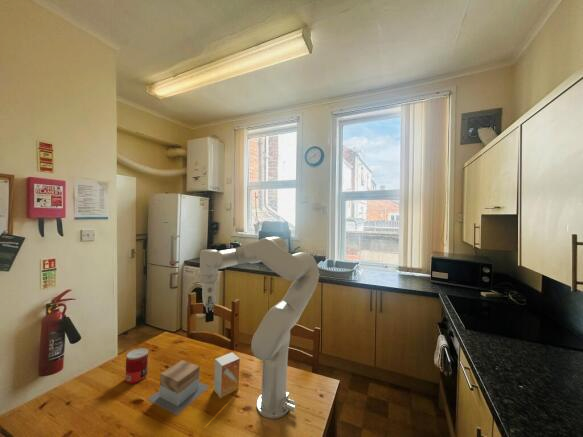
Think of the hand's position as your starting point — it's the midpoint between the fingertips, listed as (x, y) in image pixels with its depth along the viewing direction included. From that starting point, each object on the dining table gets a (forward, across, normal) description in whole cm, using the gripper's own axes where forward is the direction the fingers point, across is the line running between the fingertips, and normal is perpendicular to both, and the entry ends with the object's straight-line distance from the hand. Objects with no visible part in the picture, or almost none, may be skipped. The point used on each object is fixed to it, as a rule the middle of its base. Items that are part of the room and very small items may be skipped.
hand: (208, 317), depth 102 cm
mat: (+27, -4, +11) cm, 29 cm away
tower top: (+22, -4, +11) cm, 25 cm away
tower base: (+26, -4, +11) cm, 29 cm away
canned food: (+27, +13, +28) cm, 41 cm away
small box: (+28, -9, -6) cm, 30 cm away
